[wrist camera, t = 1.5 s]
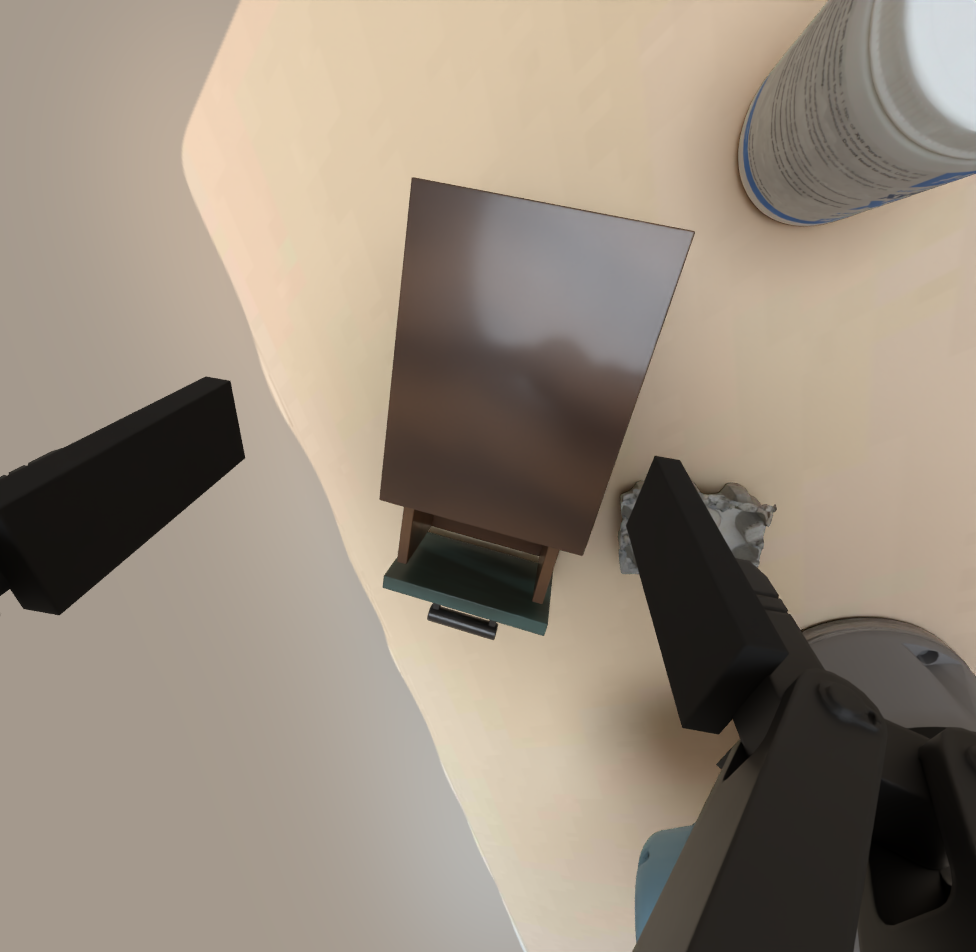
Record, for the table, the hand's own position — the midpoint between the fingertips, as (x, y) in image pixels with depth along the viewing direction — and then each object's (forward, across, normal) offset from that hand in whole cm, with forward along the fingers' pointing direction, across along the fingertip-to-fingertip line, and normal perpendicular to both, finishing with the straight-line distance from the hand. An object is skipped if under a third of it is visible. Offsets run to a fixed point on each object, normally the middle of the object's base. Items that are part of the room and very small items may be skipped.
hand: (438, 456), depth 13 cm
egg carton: (+18, -18, +13) cm, 29 cm away
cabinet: (+21, -3, +3) cm, 22 cm away
